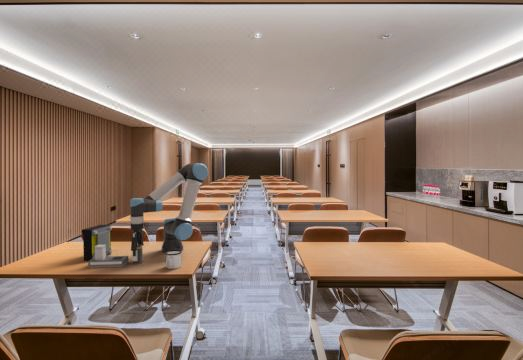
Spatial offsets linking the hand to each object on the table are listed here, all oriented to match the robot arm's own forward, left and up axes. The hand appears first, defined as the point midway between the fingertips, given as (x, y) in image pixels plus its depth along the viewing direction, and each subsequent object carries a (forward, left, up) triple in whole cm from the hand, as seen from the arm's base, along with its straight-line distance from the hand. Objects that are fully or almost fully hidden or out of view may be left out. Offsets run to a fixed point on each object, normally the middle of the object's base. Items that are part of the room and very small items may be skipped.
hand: (137, 258), depth 191 cm
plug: (0, 0, -3) cm, 3 cm away
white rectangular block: (+21, +3, -2) cm, 21 cm away
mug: (-24, +12, -3) cm, 27 cm away
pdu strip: (+16, +3, -3) cm, 16 cm away
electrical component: (+30, -15, -3) cm, 34 cm away
